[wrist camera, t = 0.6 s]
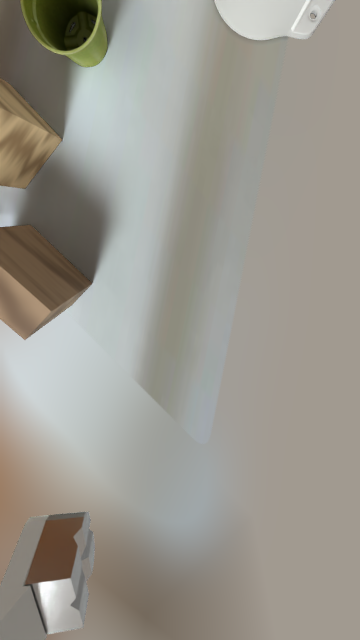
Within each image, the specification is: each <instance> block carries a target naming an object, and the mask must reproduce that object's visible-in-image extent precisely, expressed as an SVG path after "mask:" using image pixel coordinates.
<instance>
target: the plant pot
mask: <svg viewBox="0 0 360 640" xmlns="http://www.w3.org/2000/svg"><path fill="white" fill-rule="evenodd" d="M20 3H21V9H22V13H23V16H24V19H25V22H26V24H27V26H28V28H29V30H30V32H31V33H32V35H33V36H34V37H35V39H36V40H37V41H38V42H39V43H40V44H41V45H43V46H44V47H45V48H46V49H48V50H50V51H52V52H54V53H57V54H60V55H65V56H67V57H68V58H69V59H71V60H72V61H74V62H75V63H77V64H78V65H80V66H82V67H92V66H96V65H97V64H99V63H100V62H101V61H102V59H103V58H104V56H105V54H106V51H107V34H106V30H105V26H104V23H103V19H102V15H101V14H102V0H20ZM91 20H94V21H95V22H96V24H94V23H92V22H91ZM74 22H75V23H76V25H75V26H74V27H73V29H72V31H71V32H70V27H71V25H72V24H73V23H74ZM84 37H86V38H87V41H86V42H85V41H84V40H83V38H84Z"/></svg>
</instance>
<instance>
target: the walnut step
mask: <svg viewBox="0 0 360 640" xmlns="http://www.w3.org/2000/svg"><path fill="white" fill-rule="evenodd" d="M91 284H92V283H91V282H90V281H89V280H88V279H87V278H86V277H85V276H84V275H83V274H82V273H81V272H80V271H79V270H78V269H77V268H75V267H74V266H73V265H72V264H71V263H70V262H69V261H68V260H67V259H66V258H65V257H64V256H63V255H62V254H61V253H60V252H59V251H58V250H57V249H55V248H54V247H53V246H52V245H51V244H50V243H49V242H48V241H47V240H46V239H45V238H44V237H43V236H42V235H41V234H40V233H39V232H38V231H37V230H35V229H34V228H33V227H32V226H31V225H22V226H10V227H0V319H1V320H2V321H3V322H4V323H5V324H7V325H8V326H9V327H10V328H11V329H12V330H14V331H15V332H16V333H17V334H18V335H20V336H21V337H22V338H23V339H24V340H25V339H27V338H28V337H29V336H31V335H32V334H34V333H35V332H36V331H38V330H39V329H40V328H42V327H43V326H44V325H46V324H47V323H48V322H50V321H51V320H52V319H54V318H55V317H57V316H58V315H59V314H61V313H62V312H63V311H65V310H66V309H67V308H69V307H70V306H71V305H72V304H73V303H74V302H75V301H76V300H77V299H78V298H79V297H80V296H81V295H82V294H83V293H84V292H85V291H86V290H87V289H88V288H89V287H90V285H91Z"/></svg>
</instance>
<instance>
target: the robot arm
mask: <svg viewBox="0 0 360 640" xmlns="http://www.w3.org/2000/svg"><path fill="white" fill-rule="evenodd" d="M214 1H215V4H216V7H217V9H218V11H219V13H220V15H221V16H222V18H223V19H224V21H225V22H226V23H227V25H228V26H229V27H230V28H232V29H233V30H234V31H235V32H237V33H238V34H240V35H242V36H244V37H246V38H249V39H254V40H268V39H273V38H277V37H281V36H289V37H293V38H297V39H307V38H309V37H310V36H311V35H312V34H313V33H314V31H315V30H316V28H317V27H318V25H319V24H320V22H321V21H322V19H323V18H324V16H325V15H326V13H327V12H328V10H329V9H330V7H331V6H332V4H333V3H334V1H335V0H214ZM310 14H314V15H315V19H312V18H311V17H310ZM90 521H91V520H90V516H89V512H79V513H67V514H56V515H45V516H36V517H30V518H29V519H28V521H27V522H26V523H25V525H24V528H23V531H22V533H21V535H20V538H19V540H18V543H17V545H16V548H15V550H14V553H13V555H12V558H11V560H10V563H9V565H8V568H7V570H6V573H5V576H4V578H3V580H2V583H1V585H0V640H45V639H46V638H47V636H46V634H51V633H57V632H62V631H67V630H74V629H79V628H83V627H84V621H85V615H86V608H87V602H88V596H89V593H88V588H87V583H86V581H87V580H88V578H89V577H90V576H91V574H92V570H93V564H94V551H95V545H94V536H93V532H92V531H91V530H90V529H89V527H90Z"/></svg>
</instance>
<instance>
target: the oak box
mask: <svg viewBox="0 0 360 640" xmlns="http://www.w3.org/2000/svg"><path fill="white" fill-rule="evenodd" d="M61 141H62V139H61V138H60V137H59V136H58V134H57V133H56V132H55V131H54V130H53V129H52V128H51V127H50V126H49V125H48V124H47V123H46V122H45V121H44V120H43V119H42V118H41V117H40V116H39V114H38V113H37V112H36V111H35V110H34V109H33V108H32V107H31V106H30V105H29V104H28V103H27V102H26V101H25V100H24V99H23V98H22V97H21V96H20V94H19V93H18V92H17V91H16V90H15V89H14V88H13V87H12V86H11V85H10V84H8V83H7V82H5V81H4V80H2V79H1V78H0V186H8V187H16V188H24V189H25V188H26V187H27V186H28V184H29V183H30V182H31V180H32V179H33V178H34V176H35V175H36V174H37V173H38V171H39V170H40V169H41V167H42V166H43V165H44V163H45V162H46V161H47V159H48V158H49V157H50V155H51V154H52V153H53V151H54V150H55V149H56V147H57V146H58V145H59V144H60V142H61Z"/></svg>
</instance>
